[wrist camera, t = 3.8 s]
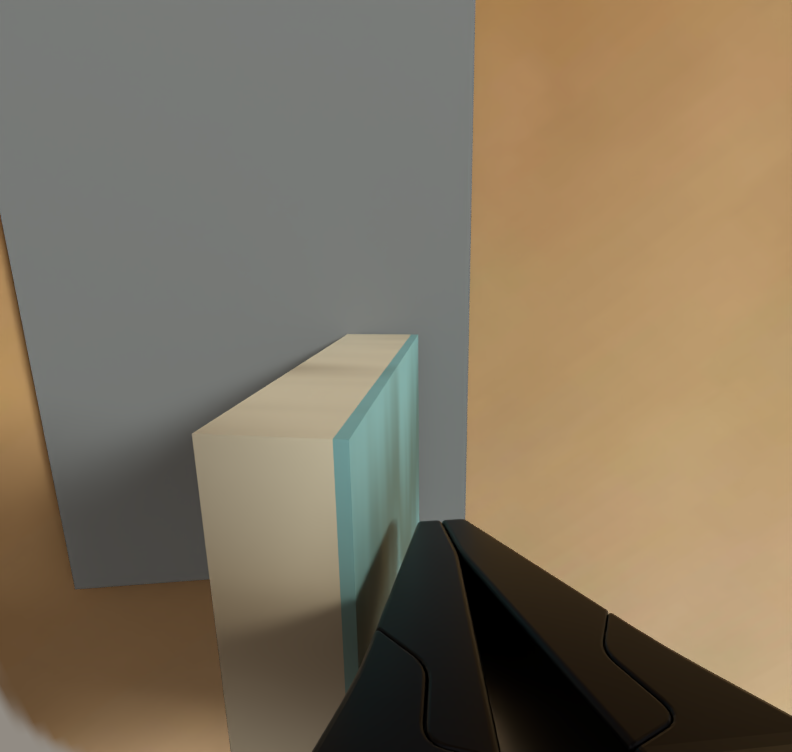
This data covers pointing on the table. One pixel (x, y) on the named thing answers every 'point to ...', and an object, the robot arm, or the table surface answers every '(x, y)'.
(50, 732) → the table surface
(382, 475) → the tile
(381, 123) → the mat
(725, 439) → the table surface
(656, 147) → the table surface
